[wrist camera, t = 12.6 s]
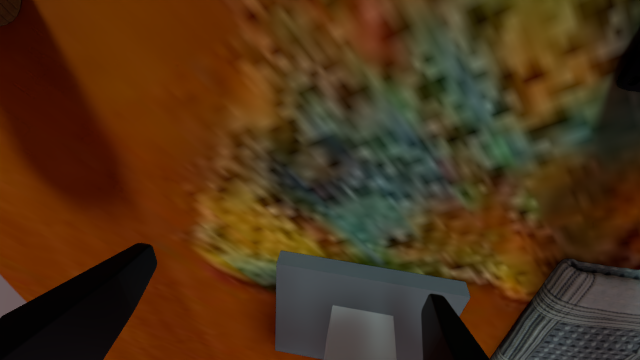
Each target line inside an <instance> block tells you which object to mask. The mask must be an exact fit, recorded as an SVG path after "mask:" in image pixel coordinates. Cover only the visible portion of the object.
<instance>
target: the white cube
mask: <svg viewBox="0 0 640 360" xmlns="http://www.w3.org/2000/svg"><path fill="white" fill-rule="evenodd" d="M324 360H397V358H396V345H395V332H394V318H393V316H391V315H385V314H379V313H374V312H368V311H363V310H357V309H351V308H346V307H340V306H334V305H333V306H332V311H331V317H330V322H329V328H328V333H327V339H326V347H325V356H324Z"/></svg>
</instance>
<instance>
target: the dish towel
mask: <svg viewBox="0 0 640 360" xmlns="http://www.w3.org/2000/svg"><path fill="white" fill-rule="evenodd" d="M490 360H640V270H632V269H628V268H618V267H614V266H604V265H600V264H591V263H587V262H579V261H576V260H574V259H564V260H562V261H561V262H560V263H559V264H558V265H557V267H556V268H555V269H554V270H553V271H552V272H551V274H550V276H549V277H548V279H547V280H546V281H545V283H544V284H543V286H542V287H541V288H540V290H539V291H538V293H537V294H536V295H535V296H534V298H533V299H532V301H531V302H530V304H529V306H528V307H527V308H526V309H525V311H524V312H523V313H522V314H521V316H520V318H519V319H518V321H517V322H516V324H515V325H514V327H513V328H512V330H511V331H510V332H509V334H508V335H507V336H506V338H505V339H504V340H503V341H502V343H501V344H500V346H499V347H498V348H497V350H496V351H495V353H494V354H493V355H492V357H491V359H490Z"/></svg>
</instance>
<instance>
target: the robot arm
mask: <svg viewBox="0 0 640 360" xmlns="http://www.w3.org/2000/svg"><path fill="white" fill-rule="evenodd" d="M633 76H634V80H633V81H632V82H630V83H628V80H629V79H630V78H631V77H633ZM617 86H618V87H620V88H622V89H625V90H628V91H636V92H640V43H639V44H638V47H637V48H636V50H635V51H634V53H633V55H632V56H631V58H630V59H629V61H628V63H627V64H626V66H625V67H624V69H623V71H622V72H621V74H620V76H619V77H618V79H617ZM156 266H157V259H156V256H155V253H154V249H153V247H152V246H151V245H150V244H145V243H137V244H135V245H133V246H131V247H129V248H127V249H126V250H124V251H122V252H120V253H118V254H116V255H114V256H113V257H111V258H109V259H107V260H105V261H103V262H101V263H100V264H98V265H96V266H94V267H92V268H90V269H88V270H87V271H85V272H83V273H81V274H79V275H77V276H75V277H74V278H72V279H70V280H68V281H66V282H64V283H63V284H61V285H59V286H57V287H55V288H53V289H51V290H50V291H48V292H46V293H44V294H42V295H40V296H38V297H37V298H35V299H33V300H31V301H29V302H27V303H25V304H24V305H22V306H20V307H18V308H16V309H14V310H12V311H11V312H9V313H7V314H5V315H3V316H2V317H1V318H0V360H103V359H104V358H105V356H106V354H107V353H108V351H109V350H110V348H111V347H112V345H113V343H114V342H115V340H116V339H117V337H118V336H119V334H120V333H121V331H122V329H123V328H124V326H125V325H126V323H127V322H128V320H129V318H130V317H131V315H132V314H133V312H134V310H135V308H136V306H137V305H138V303H139V301H140V299H141V297H142V295H143V293H144V291H145V289H146V287H147V285H148V283H149V281H150V279H151V277H152V275H153V273H154V271H155V269H156ZM421 326H422V348H423V360H490V359H489V358H488V356H487V355H486V354H485V352H484V351H483V349H482V348H481V347H480V345H479V344H478V342H477V341H476V340H475V338H474V337H473V335H472V334H471V333H470V331H469V330H468V329H467V327H466V326H465V324H464V323H463V322H462V320H461V319H460V317H459V316H458V315H457V313H456V312H455V310H454V309H453V308H452V306H451V305H450V304H449V302H448V301H447V299H446V298H445V297H444V296H442V295H438V294H432V293H431V294H429V295H428V297H427V299H426V301H425V304H424V306H423V308H422V311H421Z"/></svg>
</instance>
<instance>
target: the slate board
mask: <svg viewBox="0 0 640 360" xmlns="http://www.w3.org/2000/svg"><path fill="white" fill-rule="evenodd" d="M431 293H432V294H438V295H442V296H444V297H445V298H446V299H447V301H448V302H449V304H450V305H451V306H452V308H453V309H454V310H455V312H456V313H457V315H458V316H460V314H461V312H462V311H463V309H464V307H465V305H466V304H467V302H468V300H469V299H470V295H469V292H468V289H467V286H466V282H462V281H457V280H451V279H445V278H439V277H433V276H427V275H421V274H415V273H410V272H404V271H398V270H392V269H386V268H380V267H374V266H368V265H362V264H357V263H351V262H345V261H339V260H333V259H327V258H321V257H315V256H310V255H304V254H298V253H292V252H286V251H281V252H280V255H279V258H278V261H277V275H276V339H275V350H277V351H282V352H287V353H292V354H297V355H302V356H308V357H313V358H318V359H323V360H324V356H325V347H326V339H327V333H328V328H329V322H330V317H331V311H332V306H333V305H334V306H340V307H346V308H351V309H357V310H363V311H368V312H374V313H379V314H385V315H391V316H393V318H394V332H395V345H396V358H397V360H423V348H422V326H421V311H422V308H423V306H424V304H425V301H426V299H427V297H428V295H429V294H431Z"/></svg>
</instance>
